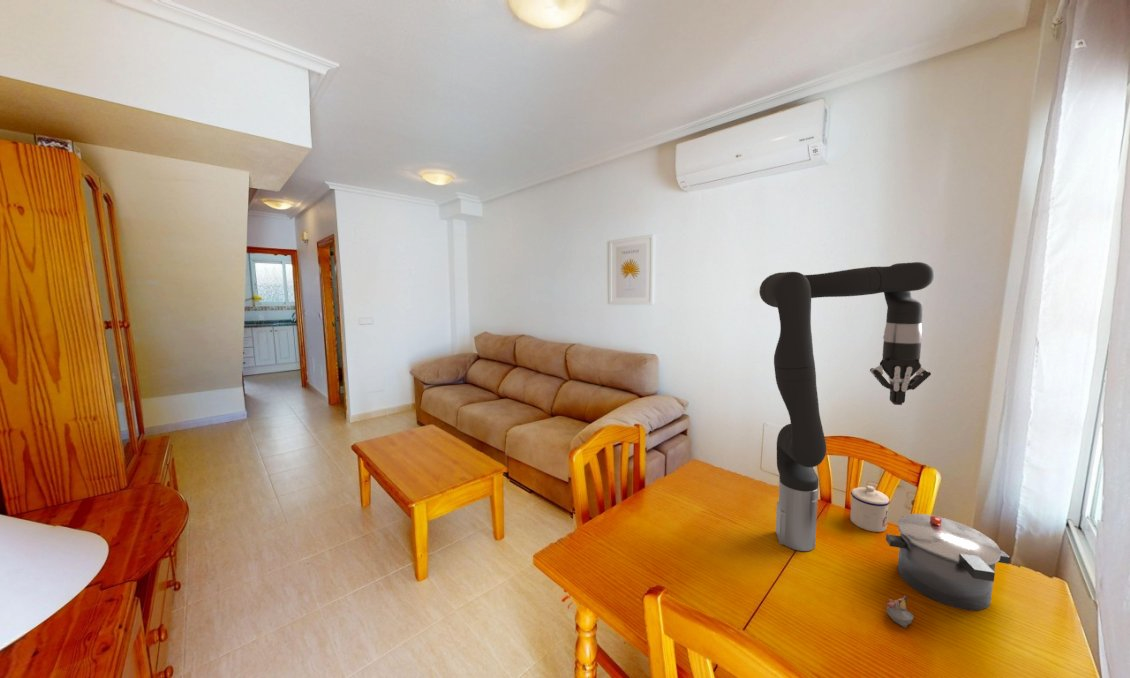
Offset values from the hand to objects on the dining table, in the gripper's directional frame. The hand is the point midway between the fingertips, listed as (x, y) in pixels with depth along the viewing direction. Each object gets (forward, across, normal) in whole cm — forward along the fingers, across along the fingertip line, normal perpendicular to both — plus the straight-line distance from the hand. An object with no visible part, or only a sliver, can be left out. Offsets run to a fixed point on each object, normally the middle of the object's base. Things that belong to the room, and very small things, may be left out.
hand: (896, 404), depth 105 cm
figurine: (+39, -9, -31) cm, 51 cm away
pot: (+39, +5, -16) cm, 42 cm away
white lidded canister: (+39, -2, +8) cm, 40 cm away
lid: (+28, +5, -18) cm, 34 cm away
